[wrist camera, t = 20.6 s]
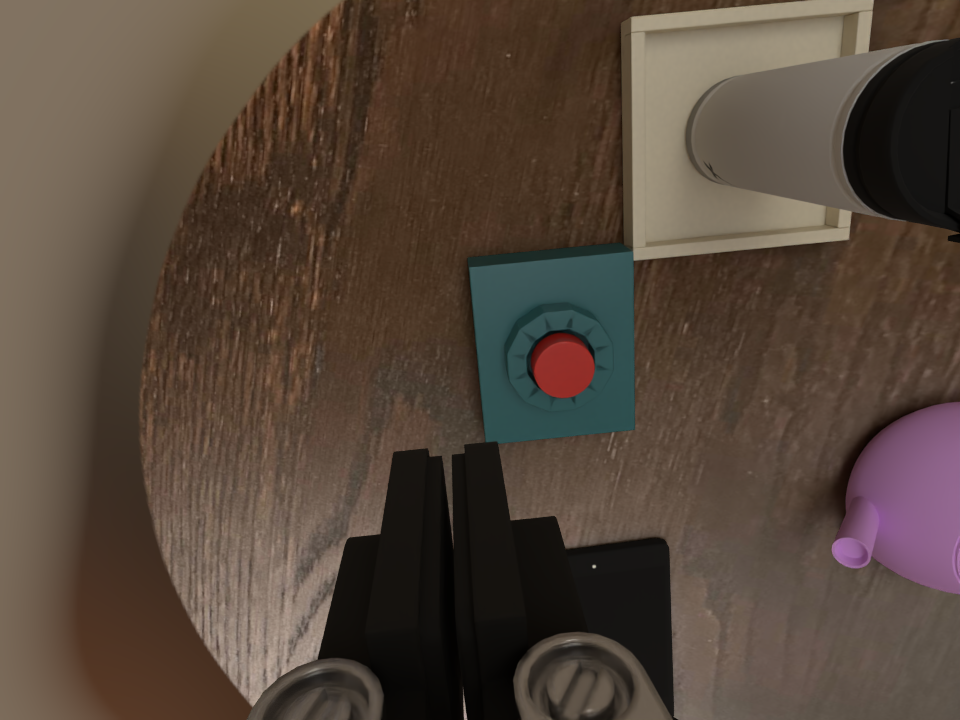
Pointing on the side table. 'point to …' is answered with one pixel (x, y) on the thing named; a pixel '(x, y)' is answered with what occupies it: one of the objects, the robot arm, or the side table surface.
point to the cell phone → (630, 602)
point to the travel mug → (842, 133)
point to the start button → (562, 365)
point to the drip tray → (668, 105)
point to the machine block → (545, 311)
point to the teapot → (908, 500)
